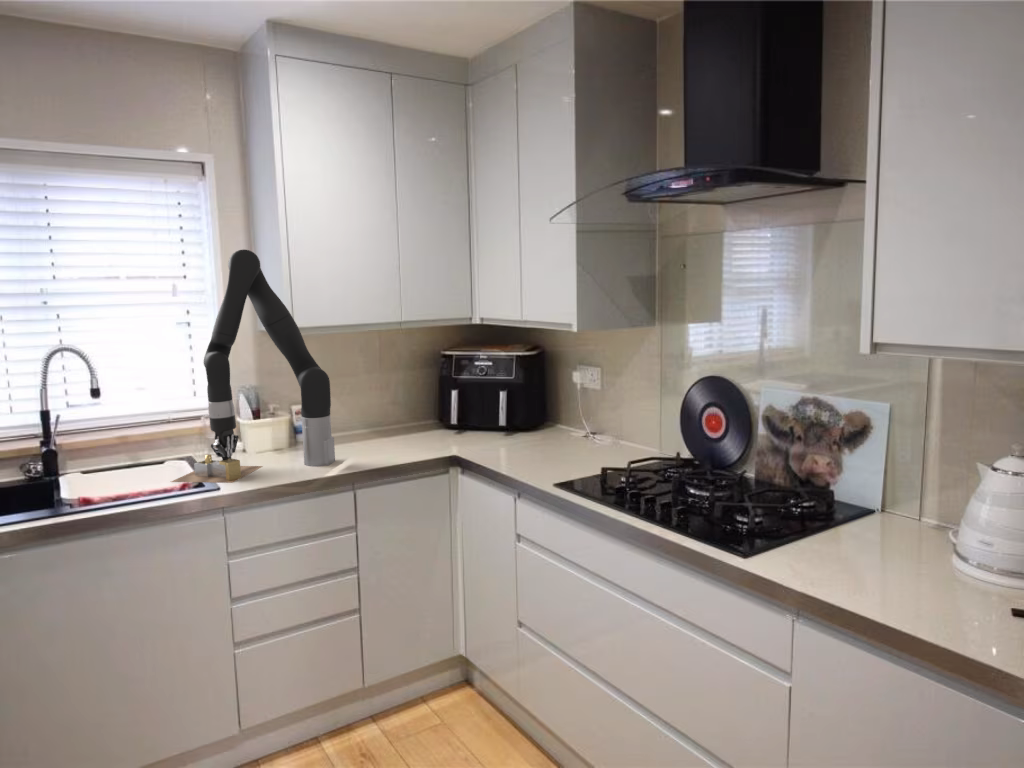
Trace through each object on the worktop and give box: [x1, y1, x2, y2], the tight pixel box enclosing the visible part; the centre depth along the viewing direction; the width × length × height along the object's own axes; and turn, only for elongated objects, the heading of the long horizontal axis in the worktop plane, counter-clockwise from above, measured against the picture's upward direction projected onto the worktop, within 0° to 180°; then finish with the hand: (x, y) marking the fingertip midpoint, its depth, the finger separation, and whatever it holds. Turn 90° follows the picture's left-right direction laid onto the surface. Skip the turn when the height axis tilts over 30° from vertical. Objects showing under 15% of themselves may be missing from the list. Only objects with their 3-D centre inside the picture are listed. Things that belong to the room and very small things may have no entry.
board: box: [170, 465, 264, 484], centre depth 228 cm, size 20×20×1 cm
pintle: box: [204, 453, 213, 464], centre depth 228 cm, size 2×2×6 cm
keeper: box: [218, 457, 242, 481], centre depth 222 cm, size 5×4×6 cm
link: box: [193, 459, 226, 478], centre depth 226 cm, size 13×5×4 cm, turn 68°
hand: (228, 468), depth 229 cm, fingers closed
